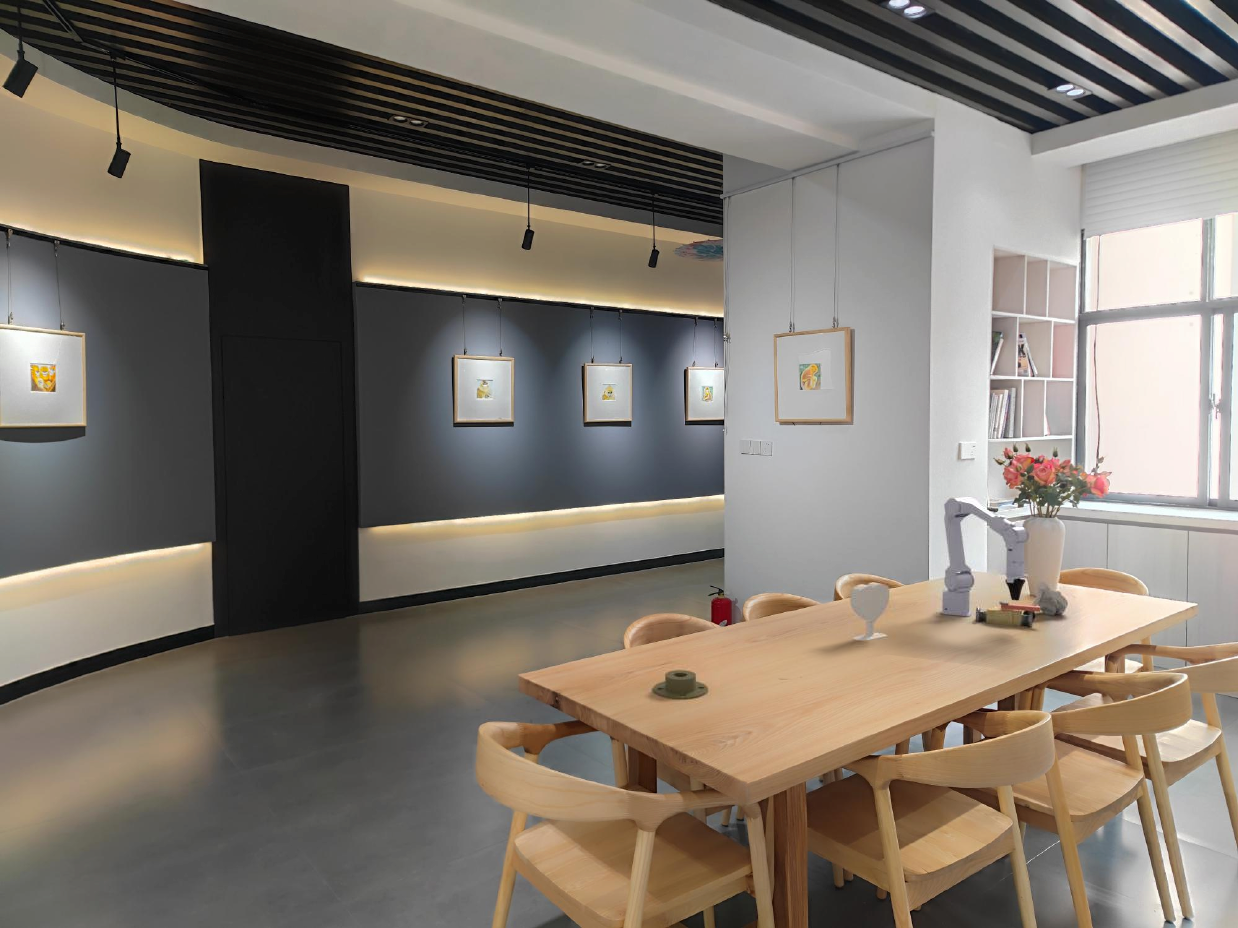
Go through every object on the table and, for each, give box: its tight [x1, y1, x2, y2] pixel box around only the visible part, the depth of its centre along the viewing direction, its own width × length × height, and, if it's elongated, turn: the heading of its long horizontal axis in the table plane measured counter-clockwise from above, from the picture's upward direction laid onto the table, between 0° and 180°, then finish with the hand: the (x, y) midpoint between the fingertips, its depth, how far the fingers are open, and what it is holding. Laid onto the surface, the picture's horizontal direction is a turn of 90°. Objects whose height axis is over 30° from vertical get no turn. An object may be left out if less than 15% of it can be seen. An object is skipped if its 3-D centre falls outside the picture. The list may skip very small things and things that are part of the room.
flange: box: [653, 669, 709, 700], centre depth 223 cm, size 5×15×15 cm
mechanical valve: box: [1022, 581, 1069, 621], centre depth 298 cm, size 10×18×15 cm
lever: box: [999, 601, 1041, 613], centre depth 287 cm, size 13×3×2 cm, turn 63°
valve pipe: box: [975, 606, 1034, 628], centre depth 290 cm, size 18×6×6 cm, turn 60°
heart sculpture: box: [849, 581, 890, 642], centre depth 274 cm, size 16×5×18 cm, turn 122°
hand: (1015, 599), depth 282 cm, fingers closed
